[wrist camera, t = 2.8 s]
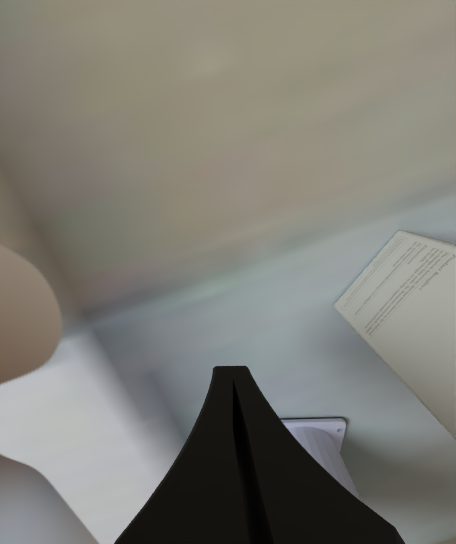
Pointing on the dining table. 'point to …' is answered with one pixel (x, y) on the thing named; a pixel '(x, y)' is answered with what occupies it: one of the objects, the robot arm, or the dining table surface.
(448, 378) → the supplement box
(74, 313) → the dining table surface
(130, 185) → the dining table surface
